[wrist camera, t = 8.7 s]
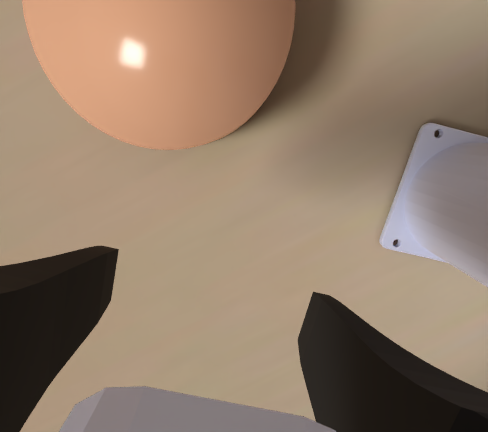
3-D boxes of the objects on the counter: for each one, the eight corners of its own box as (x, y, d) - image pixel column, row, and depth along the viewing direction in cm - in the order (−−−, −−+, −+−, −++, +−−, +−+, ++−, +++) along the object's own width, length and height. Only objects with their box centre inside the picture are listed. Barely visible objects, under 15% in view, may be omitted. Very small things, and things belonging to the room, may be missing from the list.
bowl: (309, -54, 17) (330, -110, 13) (254, 167, 20) (257, 175, 16) (82, -121, 16) (32, -202, 12) (59, 119, 19) (13, 115, 15)
